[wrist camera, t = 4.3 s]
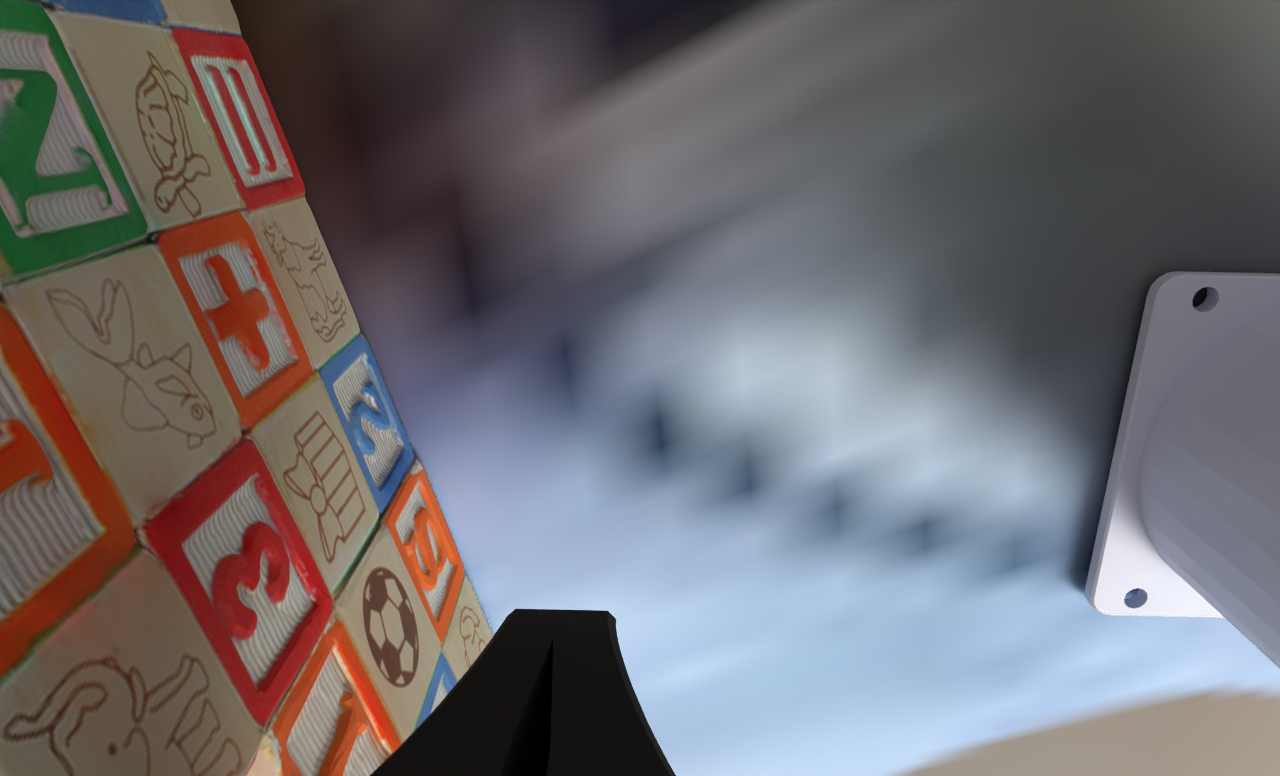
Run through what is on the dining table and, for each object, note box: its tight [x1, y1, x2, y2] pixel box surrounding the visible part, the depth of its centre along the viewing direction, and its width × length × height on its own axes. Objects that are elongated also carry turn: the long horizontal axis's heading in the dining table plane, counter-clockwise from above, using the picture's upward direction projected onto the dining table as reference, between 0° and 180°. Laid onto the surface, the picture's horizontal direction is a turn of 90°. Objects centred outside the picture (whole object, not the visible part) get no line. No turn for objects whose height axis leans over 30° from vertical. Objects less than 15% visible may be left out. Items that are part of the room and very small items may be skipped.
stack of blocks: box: [0, 0, 493, 776], centre depth 14 cm, size 21×6×12 cm, turn 17°
